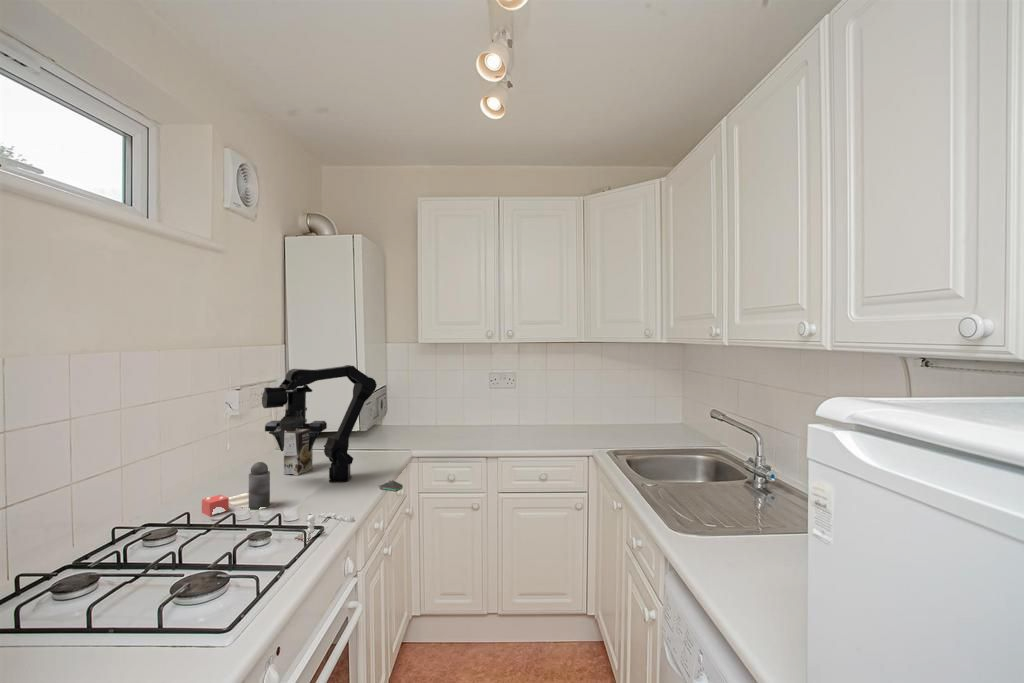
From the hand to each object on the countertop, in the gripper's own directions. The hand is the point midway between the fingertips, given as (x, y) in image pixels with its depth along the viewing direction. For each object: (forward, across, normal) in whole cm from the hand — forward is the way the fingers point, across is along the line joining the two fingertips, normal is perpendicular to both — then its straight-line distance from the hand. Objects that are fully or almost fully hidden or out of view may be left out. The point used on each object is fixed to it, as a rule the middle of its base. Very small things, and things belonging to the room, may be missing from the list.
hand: (296, 451), depth 158 cm
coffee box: (+13, -7, +20) cm, 25 cm away
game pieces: (+14, +24, -19) cm, 34 cm away
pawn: (+12, -3, -19) cm, 23 cm away
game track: (+13, -8, -16) cm, 22 cm away
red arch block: (+13, -14, -23) cm, 30 cm away
